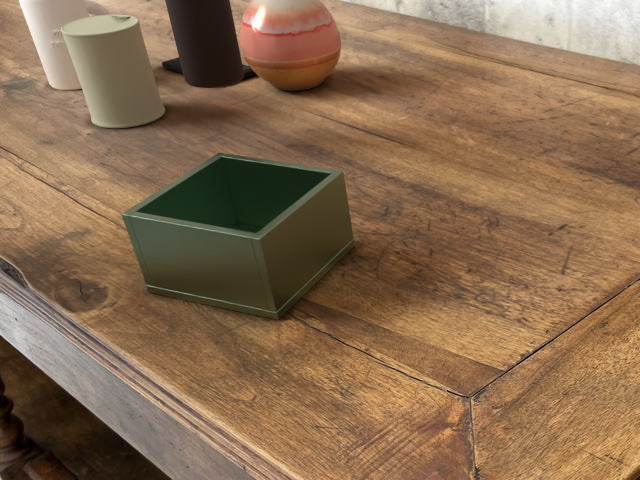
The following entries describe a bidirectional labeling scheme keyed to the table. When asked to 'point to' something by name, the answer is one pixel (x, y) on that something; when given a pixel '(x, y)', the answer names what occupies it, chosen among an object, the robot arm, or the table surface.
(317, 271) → the green open box
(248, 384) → the table surface
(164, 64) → the smartphone
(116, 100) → the can
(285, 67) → the vase
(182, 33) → the vinegar
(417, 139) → the table surface
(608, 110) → the table surface
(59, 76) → the mug
